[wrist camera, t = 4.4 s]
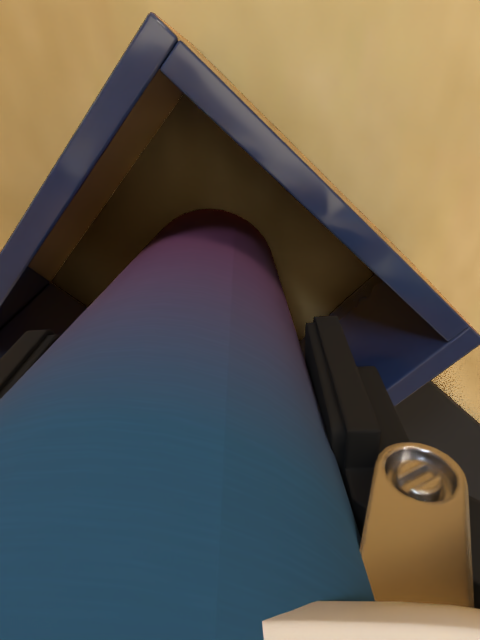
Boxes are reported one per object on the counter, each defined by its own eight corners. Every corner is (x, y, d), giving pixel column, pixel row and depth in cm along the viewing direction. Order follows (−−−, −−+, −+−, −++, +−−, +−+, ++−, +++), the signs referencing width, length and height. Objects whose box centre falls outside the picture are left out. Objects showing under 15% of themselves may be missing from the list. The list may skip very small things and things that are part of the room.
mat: (114, 540, 25) (112, 546, 25) (368, 326, 18) (371, 330, 18) (291, 631, 30) (292, 637, 29) (555, 490, 22) (560, 496, 22)
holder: (28, 282, 17) (-71, 365, 12) (190, 42, 13) (149, 9, 8) (230, 419, 21) (222, 532, 15) (411, 261, 16) (486, 341, 11)
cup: (254, 363, 19) (261, 984, 6) (108, 309, 18) (-302, 930, 5) (327, 227, 16) (698, 886, 3) (156, 152, 15) (-643, 655, 2)
